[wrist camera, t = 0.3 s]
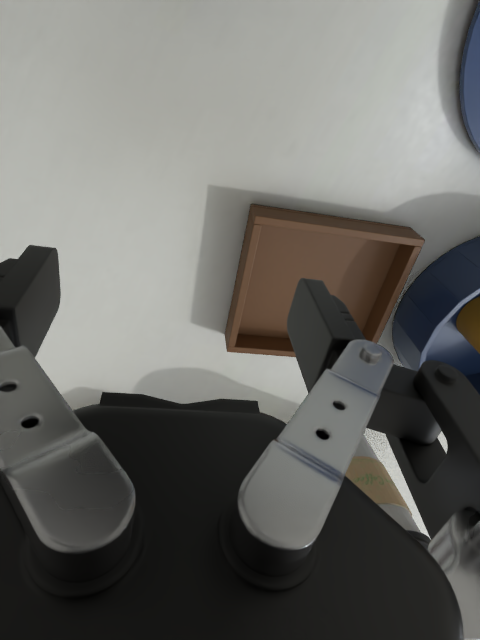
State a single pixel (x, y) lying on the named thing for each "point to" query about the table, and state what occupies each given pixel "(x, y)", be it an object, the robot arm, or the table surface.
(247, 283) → the tray
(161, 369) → the table surface
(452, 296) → the pot
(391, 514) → the coffee cup
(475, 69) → the lid
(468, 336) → the pineapple
